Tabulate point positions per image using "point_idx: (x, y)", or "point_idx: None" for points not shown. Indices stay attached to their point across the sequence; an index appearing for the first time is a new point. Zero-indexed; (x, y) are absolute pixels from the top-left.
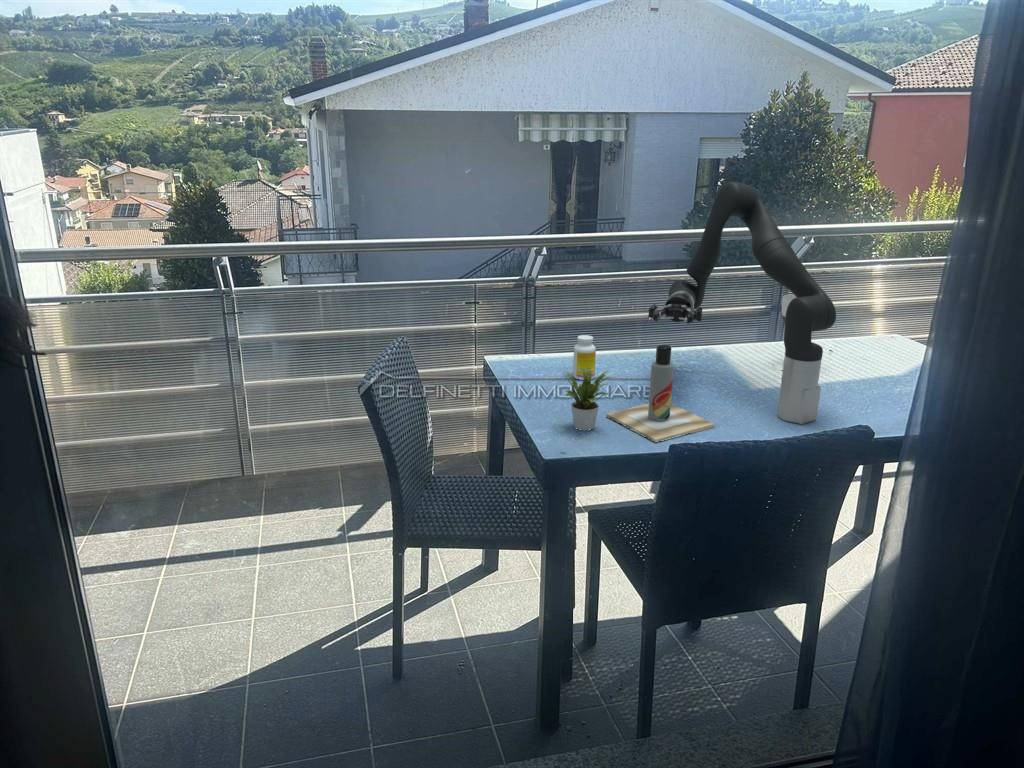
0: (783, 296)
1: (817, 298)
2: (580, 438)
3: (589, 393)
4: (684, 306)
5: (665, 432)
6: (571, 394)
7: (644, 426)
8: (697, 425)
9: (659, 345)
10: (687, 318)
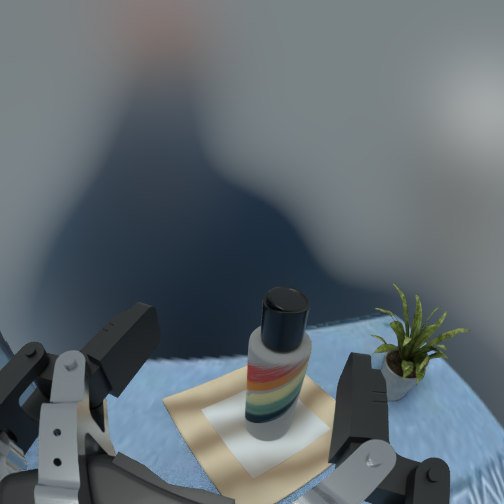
0: None
1: None
2: (383, 357)
3: (409, 348)
4: (52, 482)
5: None
6: (428, 331)
7: None
8: (196, 395)
9: (301, 311)
10: (156, 315)
